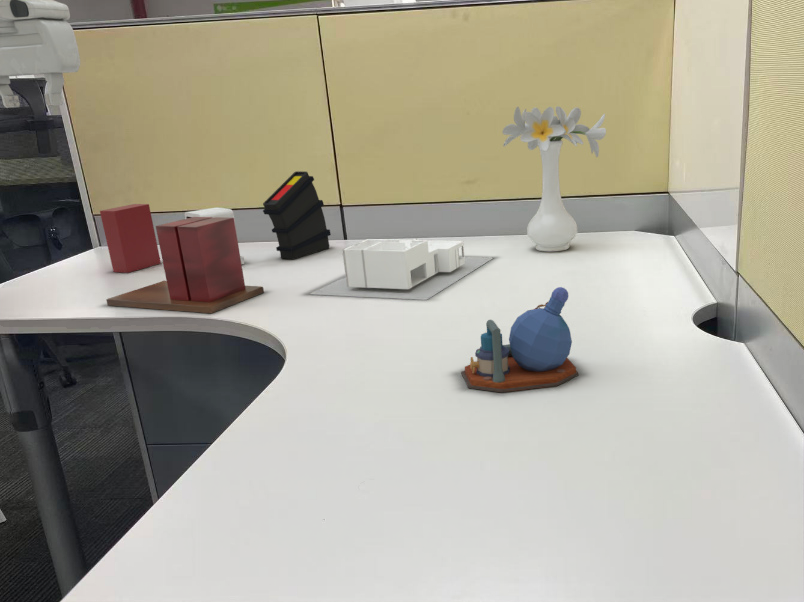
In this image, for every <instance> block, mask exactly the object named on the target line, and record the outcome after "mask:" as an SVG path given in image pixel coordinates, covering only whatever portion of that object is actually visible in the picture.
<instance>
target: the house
mask: <svg viewBox="0 0 804 602" xmlns="http://www.w3.org/2000/svg"><path fill="white" fill-rule="evenodd" d="M464 245H465V244H464V240H432V239H431V240H429V239H428V240H425V239H418V238H413V239H385V238H384V239H382V238H381V239H379V238H378V239H375V238H367V239H364V240H363V241H360V242H357V243H355V244H353V245H350V246H347V247H345V248H343V249H342V250H341V251H342V258H343V267H344V275H345V277H341V278H339V279H338V280H336V281H333V282H331V283H329V284H327V285H325V286H322V287H320V288H319V289H316V290H314V291H312V292H309V295H317V296H335V297H336V296H338V297H339V296H340V297H360V298H377V299H378V298H380V299H398V300H399V299H400V300H418V301H419V300H420V301H422V300H423V301H427V300H428V299H429V300H430V299H431V298H432V297H434V296H435V295H437V294H438V293H440V292H442V291H443V290H445V289H447V288H448V287H449V286H451V285H453V284H454V283H456V282H458V281H459V280H461V279H463V278H465V276H468V275H469V274H470V273H472V272H473V271H475V270H477V269H478V268H481V267H482V266H483V265H485V264H486V263H488V262H490V261H491V260H492V259H494V257H487V256H486V257H483V256H465V246H464ZM459 248H461V256H460V251H459Z"/></svg>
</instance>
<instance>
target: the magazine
mask: <svg viewBox="0 0 804 602" xmlns="http://www.w3.org/2000/svg"><path fill="white" fill-rule="evenodd" d="M314 181H315V178H314V176H313V175H309V173H308V171H303V170H302V171H299V170H297V171H294V172H293V173H292V174H291V175H290V176H288V178H287V179H286V180H285V181H284V182H283V183H282V184H280V186H279V187H278V188H277V189H276V190H275V191H273V193H272V194H271V195H270V196H269V197H268V198H266V200H264V202H263V203H262V205H263V207H264V209H262V212H263V214H264V215H268V217H269V219H270V220H271V222H272V225H273V228H272V229H271V233H272V234H276V238H277V242H278V246H276V247H275V248H276V251H277V252H279V255H280V258H281V259H283V260H295V259H298V258H303V257H305V256H308V255H311V254H314V253H318V252H321V251H325V250H328V249H330V240H329V237H330V236H331V235H332V234H331V229H329V228H327V223H326V218H325V214H324V211H323V209H322V207H324V205H325V204H324V201H323V200H322V199H320V198H319V196H318V193H317V189H316V187H315V185H314V183H313V182H314Z"/></svg>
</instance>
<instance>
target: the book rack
mask: <svg viewBox="0 0 804 602" xmlns="http://www.w3.org/2000/svg"><path fill="white" fill-rule="evenodd" d="M234 219H235V217H234V218H226V217H214V218H213V217H191V218H187V219H185V218H184V219H180V220H175V221H171V222H166V223H163V224H158V225H155V230H156V235H157V240H158V244H159V249H160V250H159V251H160V256H161V260H162V264H163V270H164V273H165V274H164V275H165V279H166V280H162V281H159V282H156V283H151V284H150V285H146V286H143V287H140V288H137V289H134V290H131V291H127V292H124V293H121V294H118V295H115V296H111V297H108V298H106V305H107V306H110V307H124V308H137V309H150V310H162V311H175V312H188V313H189V312H190V313H199V314H200V313H201V314H214V313H216V312H218V311H219V312H220V311H221V310H223V309H226V308H229V307H231V306H234V305H237V304H239V303H240V302H244V301H247V300H249V299H252V298H254V297H256V296H259V295H262V294H264V293H265V291H264V286H261V285H260V286H259V285H246V283H245V277H244V272H243V264H241V258H240V256H241V253H240V247H239V239H238V240H237V237H238V233H237V234H236V231H237V227H236V228H235V225H236V221H235V222H234Z"/></svg>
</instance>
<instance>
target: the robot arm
mask: <svg viewBox="0 0 804 602" xmlns="http://www.w3.org/2000/svg"><path fill="white" fill-rule="evenodd" d="M70 18H71V12H70V8H69V6H68V5H67V4H66V3H63V2H60V1H56V0H0V97H1V101H2V104H3V107H4V108H6V109H8V108H9V109H10V108H20V106H21V103H20V99H19V95H18V94H16V95H15V94H14V92H13V90H12V88H11V87H10V85H11V79H10V77H16V76H17V77H20V76H35V75H38V76H39V75H43V76H44V79H45V82H48V84H47V86H48V87H47V93H44V94H43V95H44V99H45V100H46V101H45V103H46V105H47V106H49V107H50V106H51V107H54V106H56V107H57V106H58V107H59V106H63V104H64V102H63V97H62V92H63V87H64V83H65V80H64V79H65V78H64V74H67V73H78V72H79V69H80V67H81V57H80V51H79V46H78V43H77V39H76V34H75V32H74V29H73V27H72V25H71V24H70V23H69V22H68V21H69V20H70Z"/></svg>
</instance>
